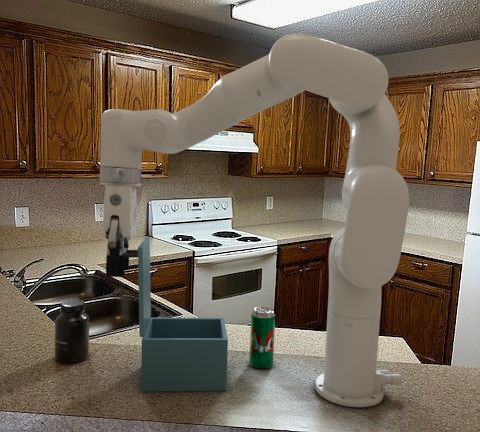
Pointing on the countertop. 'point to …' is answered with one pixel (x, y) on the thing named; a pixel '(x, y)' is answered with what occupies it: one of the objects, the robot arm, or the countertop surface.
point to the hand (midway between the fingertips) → (117, 271)
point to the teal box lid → (142, 282)
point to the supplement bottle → (72, 333)
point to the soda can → (262, 337)
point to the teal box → (184, 355)
